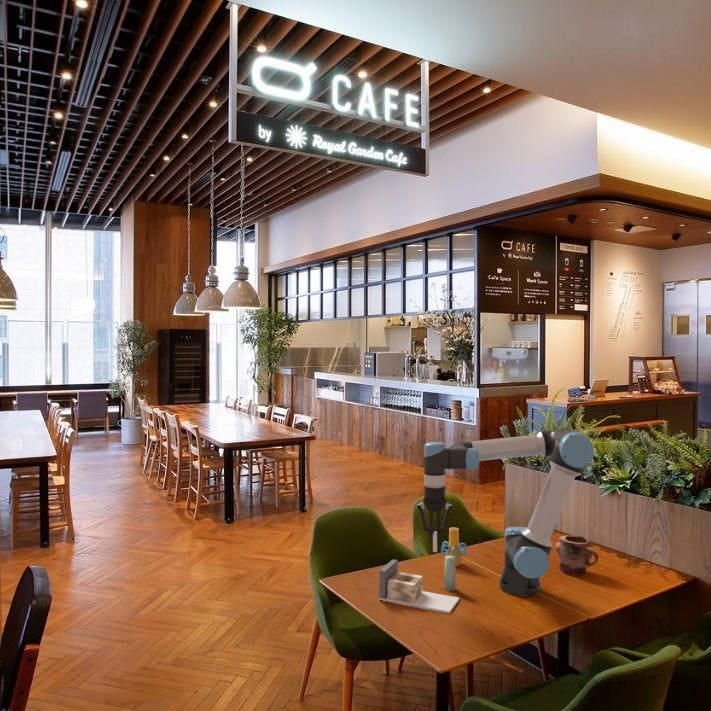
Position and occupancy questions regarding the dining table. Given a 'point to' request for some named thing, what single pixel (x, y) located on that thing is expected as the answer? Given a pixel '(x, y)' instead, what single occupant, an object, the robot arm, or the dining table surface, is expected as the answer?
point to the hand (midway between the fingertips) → (435, 550)
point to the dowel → (450, 573)
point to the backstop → (423, 601)
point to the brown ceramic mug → (575, 554)
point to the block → (405, 586)
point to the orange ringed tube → (454, 546)
